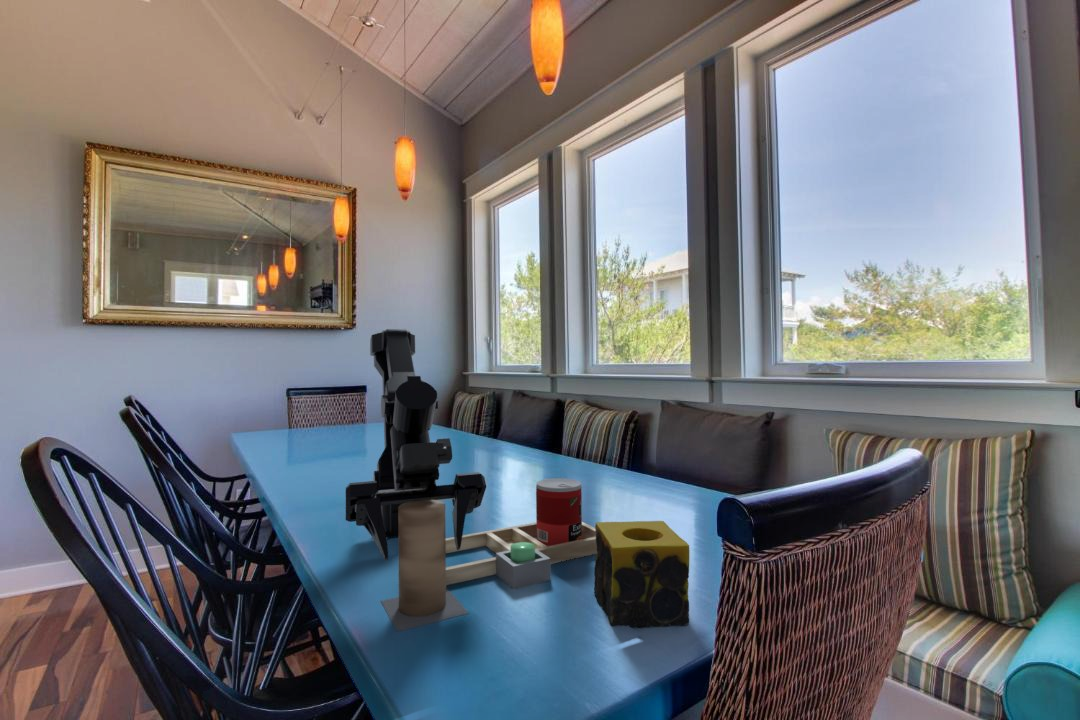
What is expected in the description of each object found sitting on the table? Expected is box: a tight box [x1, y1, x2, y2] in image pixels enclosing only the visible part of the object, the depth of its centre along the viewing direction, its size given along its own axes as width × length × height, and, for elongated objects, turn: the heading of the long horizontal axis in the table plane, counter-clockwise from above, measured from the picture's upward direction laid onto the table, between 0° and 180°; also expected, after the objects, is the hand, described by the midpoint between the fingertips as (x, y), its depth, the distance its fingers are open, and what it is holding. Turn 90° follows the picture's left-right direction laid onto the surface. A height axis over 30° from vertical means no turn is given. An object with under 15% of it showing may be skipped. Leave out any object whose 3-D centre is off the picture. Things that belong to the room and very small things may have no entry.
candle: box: [593, 520, 690, 629], centre depth 67 cm, size 10×10×10 cm
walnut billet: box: [398, 500, 447, 617], centre depth 68 cm, size 6×6×13 cm
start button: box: [511, 542, 535, 564], centre depth 76 cm, size 4×4×3 cm
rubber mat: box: [380, 586, 470, 633], centre depth 67 cm, size 9×9×1 cm
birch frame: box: [446, 521, 597, 586], centre depth 86 cm, size 13×30×2 cm, turn 119°
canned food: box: [535, 477, 583, 546], centre depth 90 cm, size 8×8×11 cm
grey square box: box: [495, 549, 552, 590], centre depth 76 cm, size 6×6×4 cm
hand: (423, 553), depth 66 cm, fingers open, 9 cm apart
